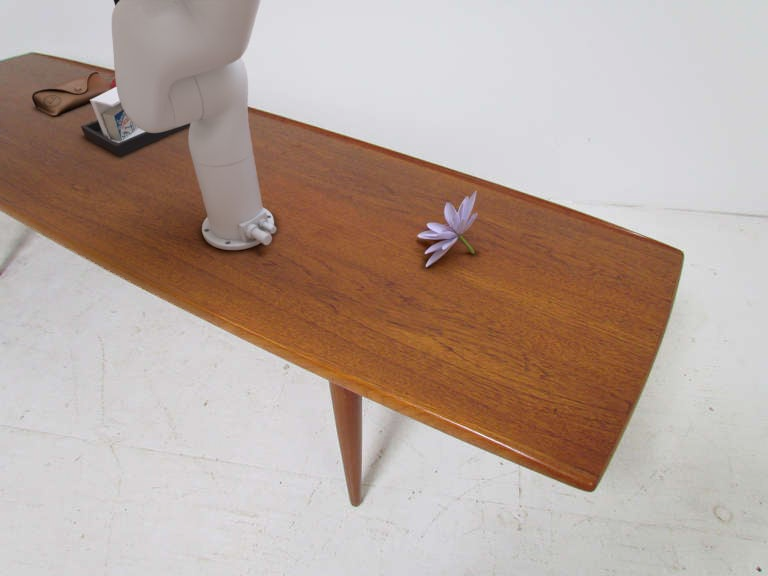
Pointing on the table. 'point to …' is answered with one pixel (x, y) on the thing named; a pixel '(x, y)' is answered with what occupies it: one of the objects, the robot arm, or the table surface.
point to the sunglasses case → (70, 94)
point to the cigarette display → (113, 117)
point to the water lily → (450, 228)
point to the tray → (127, 146)
